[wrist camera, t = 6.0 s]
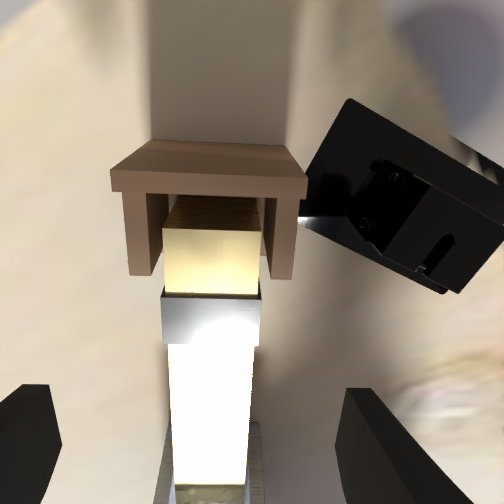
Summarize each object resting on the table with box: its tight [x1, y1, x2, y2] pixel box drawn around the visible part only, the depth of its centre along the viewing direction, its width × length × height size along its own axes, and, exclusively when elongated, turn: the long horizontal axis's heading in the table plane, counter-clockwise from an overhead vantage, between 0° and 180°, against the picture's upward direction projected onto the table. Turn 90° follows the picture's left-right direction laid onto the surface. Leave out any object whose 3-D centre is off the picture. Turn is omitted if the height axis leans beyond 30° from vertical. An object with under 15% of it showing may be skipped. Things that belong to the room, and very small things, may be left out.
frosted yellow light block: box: [160, 197, 262, 504], centre depth 17 cm, size 14×4×4 cm, turn 177°
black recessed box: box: [298, 98, 504, 294], centre depth 15 cm, size 12×7×5 cm, turn 62°
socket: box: [110, 140, 308, 280], centre depth 14 cm, size 5×5×6 cm
